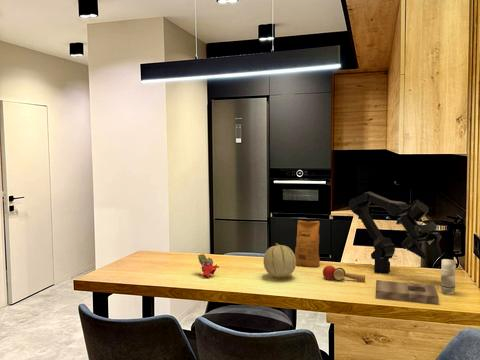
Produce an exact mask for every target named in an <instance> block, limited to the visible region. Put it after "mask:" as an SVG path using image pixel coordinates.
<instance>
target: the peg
mask: <svg viewBox="0 0 480 360" xmlns="http://www.w3.org/2000/svg"><path fill="white" fill-rule="evenodd" d="M456 263H457V261H456V260H455V259H448V258H443V259H441V266H440V267H441V271H440V272H441V273H440V274H441V275H440V290H441V294H442V295H449V296H453V295H454V294H455V291H456V265H457V264H456Z"/></svg>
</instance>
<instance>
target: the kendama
mask: <svg viewBox="0 0 480 360" xmlns="http://www.w3.org/2000/svg"><path fill="white" fill-rule="evenodd" d="M322 275H323V277H324V279H326V280H338V281H341V280H342V279H343V278H344V277H345V278H348V279H350V280H355V281H359V282H362V283H365V281H366V275H364V274H357V273H350V272H346V270H345V268H343V267H337V268H336V267H334V266H333V265H326V266H325V267H323V269H322Z"/></svg>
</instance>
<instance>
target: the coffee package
mask: <svg viewBox="0 0 480 360" xmlns="http://www.w3.org/2000/svg"><path fill="white" fill-rule="evenodd" d="M320 225H321V224H320V221H319V220H315V221H314V220H313V221H305V220H300V219H299V220H297V226H296V227H297V231H296V232H297V233H296V245H295V250H294V255H295V258H296V266H297V267H298V266H299V267H303V266H304V267H306V268H316V267H317V268H318V267H319V265H320V264H321V259H320V254H319V253H320V251H319V250H320V249H319V247H320Z"/></svg>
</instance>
